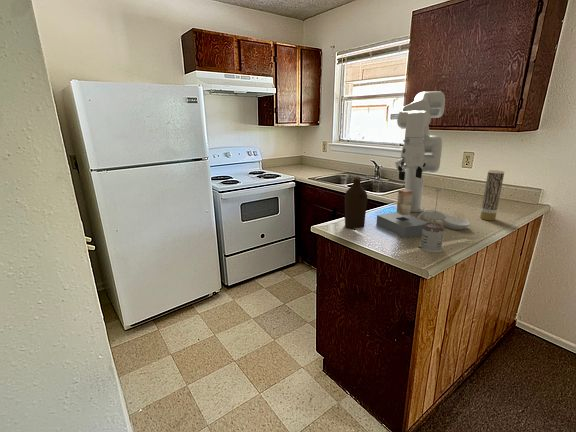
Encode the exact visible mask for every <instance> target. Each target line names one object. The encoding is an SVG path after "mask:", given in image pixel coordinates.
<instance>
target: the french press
mask: <svg viewBox="0 0 576 432" xmlns="http://www.w3.org/2000/svg"><path fill="white" fill-rule="evenodd" d="M441 191H442V190H441V188H439V187H438V188H436V189H435V192H437V194H436V199H438V197H439V193H440V192H441ZM437 205H438V200H436V203H435V209H434V210H435V212H428V213H426V214H423V216H424V217H425V218H426V219H429V223H425V224H424V226H425V227H423V229H422V233H423V234H422V235H421V237H420V238H421V239H420V246H418V249H420V250H422V251H424V252H428V253H441V252H443V251H444V250H445V249H444V247H443V246H442V245H443V239H444V233H445V230H444V225H442V224H441V223H438V222H437V223H436V221H441V220H444V219H445V218H446V216H445V215H443V214H441V213H442V212H441V213H439V212H440V211H439V212H436V211H437ZM432 221H433V222H432Z"/></svg>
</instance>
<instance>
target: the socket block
mask: <svg viewBox="0 0 576 432" xmlns="http://www.w3.org/2000/svg"><path fill="white" fill-rule="evenodd" d="M425 223H430V221H429V222H428V221H426V220H423V219H422V218H421V219H418V218H417V217H415V216H413V215H410V214H409V215H400V214H398V213H397V211H395V212H389V213H384V214H383V213H382V214H377V215H376V226H378V227H381V228H382V229H384V230H387V231H389V232H391V233H393V234H395V235H397V236H399V237H401V238H404V239H407V238H414V237H418V236H422V234H423V233H422V229H423V227H425V226H424V224H425Z"/></svg>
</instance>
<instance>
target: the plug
mask: <svg viewBox="0 0 576 432" xmlns="http://www.w3.org/2000/svg"><path fill="white" fill-rule="evenodd" d="M411 200H412V191H411V190H407V189H405V188H404V189H398V194H397V205H396V212H397V213H398V214H400V215H410V214H411V212H410V210H411Z"/></svg>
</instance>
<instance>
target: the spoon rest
mask: <svg viewBox="0 0 576 432" xmlns="http://www.w3.org/2000/svg"><path fill="white" fill-rule="evenodd" d="M428 212H435V209H426V210H423V211H421V213H420V214H418V216H417V217H416V218H418V219H421V220H422V217H423V216H424V214H426V213H428ZM436 212H439V213H441V214H443V215H445V216H446V218H445V219H444V220H440V221H441V223H442V224H443V226H445V227H446V228H447V229H450V230H454V231H459V230H465V229H467V228H468V227H470V225H471V223H470V222H469V221H468V220H466V219H463V218H460V217H456V216H454V215H453V216H452V215H449V214H447V213H444V212H442V211H438V210H436Z"/></svg>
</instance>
